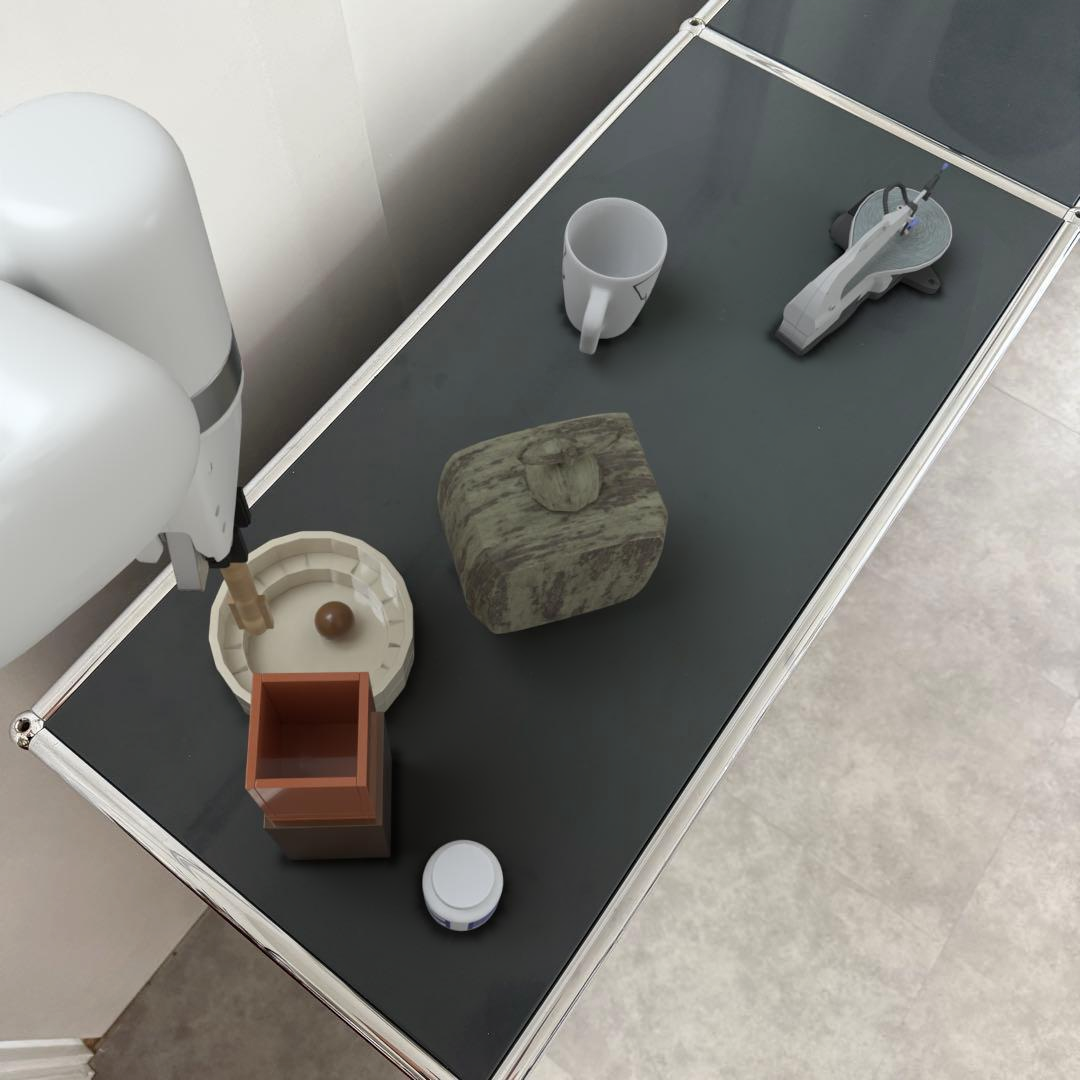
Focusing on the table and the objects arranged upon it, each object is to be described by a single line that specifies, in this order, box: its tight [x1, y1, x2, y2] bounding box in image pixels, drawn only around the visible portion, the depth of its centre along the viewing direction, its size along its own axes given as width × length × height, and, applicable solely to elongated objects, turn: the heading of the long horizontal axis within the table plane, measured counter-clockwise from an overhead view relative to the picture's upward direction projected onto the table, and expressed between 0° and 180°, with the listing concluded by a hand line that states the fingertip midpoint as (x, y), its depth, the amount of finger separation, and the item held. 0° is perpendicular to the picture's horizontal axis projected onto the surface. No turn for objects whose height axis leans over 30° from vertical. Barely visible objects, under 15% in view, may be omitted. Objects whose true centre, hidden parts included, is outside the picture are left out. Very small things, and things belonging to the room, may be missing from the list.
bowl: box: [208, 530, 415, 717], centre depth 81 cm, size 14×14×6 cm
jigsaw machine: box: [774, 162, 953, 357], centre depth 97 cm, size 20×11×12 cm
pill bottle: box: [421, 839, 504, 932], centre depth 73 cm, size 5×5×9 cm
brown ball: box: [314, 601, 355, 641], centre depth 82 cm, size 3×3×3 cm
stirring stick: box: [219, 562, 274, 636], centre depth 68 cm, size 2×2×20 cm
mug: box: [561, 197, 668, 355], centre depth 93 cm, size 11×8×10 cm
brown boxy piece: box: [244, 672, 393, 861], centre depth 69 cm, size 7×7×23 cm
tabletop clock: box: [436, 412, 669, 635], centre depth 76 cm, size 14×9×25 cm, turn 107°
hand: (222, 539), depth 64 cm, fingers closed on stirring stick, 1 cm apart
